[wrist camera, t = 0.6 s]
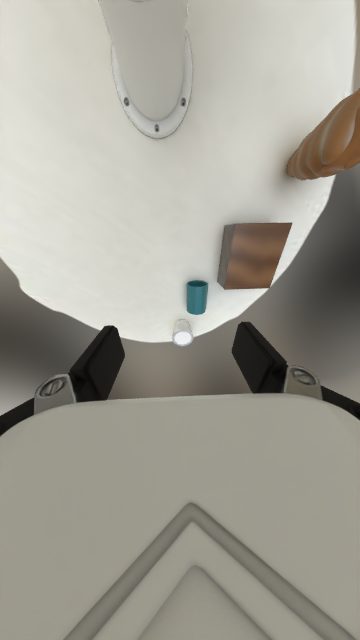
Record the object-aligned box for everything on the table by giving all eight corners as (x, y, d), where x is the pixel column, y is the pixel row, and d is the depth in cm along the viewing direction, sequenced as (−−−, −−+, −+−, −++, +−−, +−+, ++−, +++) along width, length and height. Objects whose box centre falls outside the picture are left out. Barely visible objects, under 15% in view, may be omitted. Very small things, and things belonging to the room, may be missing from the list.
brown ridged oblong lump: (270, 197, 31) (363, 163, 16) (273, 147, 27) (403, 34, 12) (311, 183, 30) (453, 131, 15) (321, 128, 26) (533, -23, 11)
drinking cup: (186, 280, 40) (188, 287, 36) (205, 280, 41) (210, 286, 36) (186, 306, 45) (187, 315, 40) (203, 305, 45) (207, 314, 40)
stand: (224, 225, 33) (235, 223, 27) (271, 224, 34) (292, 222, 28) (217, 281, 41) (224, 289, 35) (255, 280, 41) (269, 288, 35)
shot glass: (193, 328, 50) (196, 341, 44) (177, 335, 52) (178, 348, 46) (186, 315, 47) (187, 326, 41) (168, 322, 48) (168, 335, 42)
